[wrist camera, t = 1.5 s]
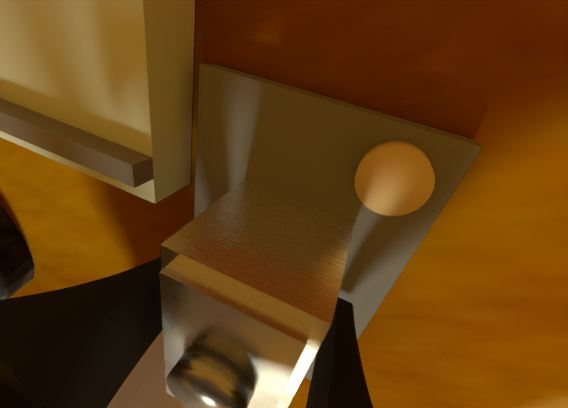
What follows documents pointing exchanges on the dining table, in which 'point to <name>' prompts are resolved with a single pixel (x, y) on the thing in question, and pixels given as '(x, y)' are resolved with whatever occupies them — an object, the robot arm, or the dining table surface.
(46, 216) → the dining table surface
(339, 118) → the mat
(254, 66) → the dining table surface
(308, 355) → the housing
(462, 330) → the dining table surface
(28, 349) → the robot arm
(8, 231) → the beer stein
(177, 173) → the stand
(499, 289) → the dining table surface
